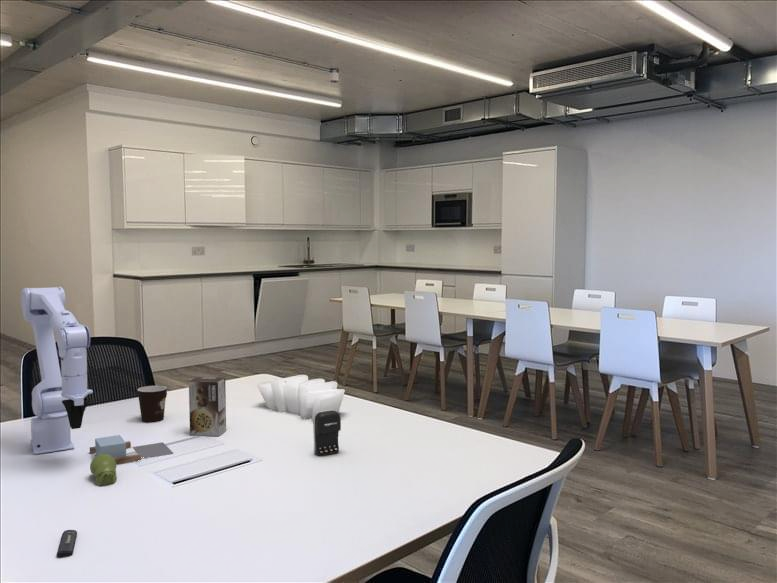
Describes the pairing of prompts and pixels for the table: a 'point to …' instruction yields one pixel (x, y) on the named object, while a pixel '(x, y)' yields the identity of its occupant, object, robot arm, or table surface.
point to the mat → (153, 450)
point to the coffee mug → (152, 403)
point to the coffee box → (207, 406)
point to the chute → (124, 458)
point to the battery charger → (326, 432)
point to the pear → (104, 469)
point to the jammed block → (110, 446)
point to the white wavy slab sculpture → (301, 395)
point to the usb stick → (67, 543)
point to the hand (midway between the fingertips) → (75, 428)
